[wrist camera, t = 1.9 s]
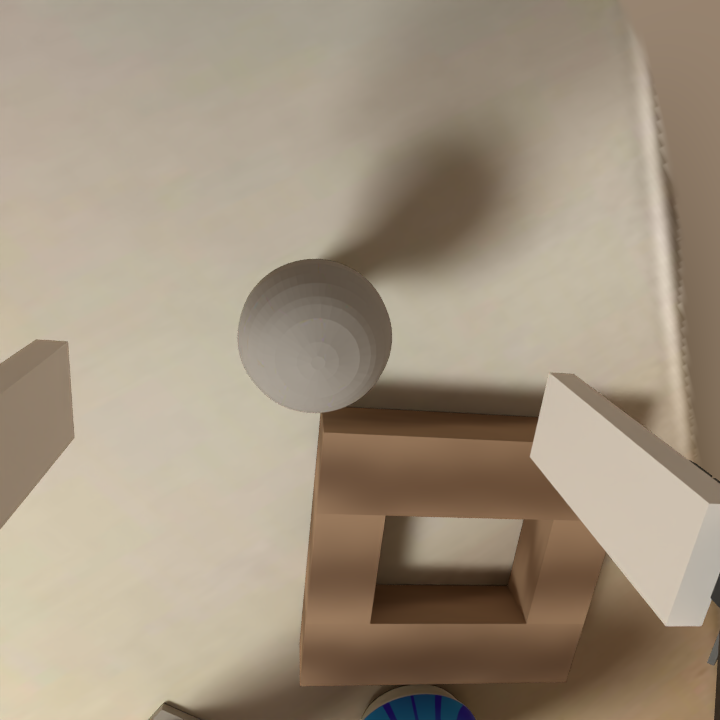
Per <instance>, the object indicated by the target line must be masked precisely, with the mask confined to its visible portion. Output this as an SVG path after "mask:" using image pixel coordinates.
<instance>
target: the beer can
mask: <svg viewBox="0 0 720 720" xmlns="http://www.w3.org/2000/svg"><path fill="white" fill-rule="evenodd" d="M362 720H475V718H474V716H473V714H472V712H471V711H470V710H469V709H468V708H467V707H466V706H465V705H464V704H463V703H461V702H460V701H458V700H456V699H455V698H454V696H452V695H451V694H450V693H449V692H447V691H446V690H444V689H442V688H439V687H436V686H432V685H425V684H413V685H406V686H402V687H398V688H395V689H393V690H390V691H388V692H386V693H384V694H383V695H381V696H380V697H378V698H377V699H376V700H375V701H373V702H372V704H371V705H370V706H369V707H368V708H367V710H366V711H365V713H364V715H363V717H362Z"/></svg>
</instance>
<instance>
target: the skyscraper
mask: <svg viewBox="0 0 720 720" xmlns="http://www.w3.org/2000/svg"><path fill="white" fill-rule="evenodd" d="M149 720H200V719H198V718H196V717H193V716H191V715H189V714H187V713H184V712H182V711H180V710H178V709H175V708H173V707H171V706H169V705H166V704H164V703H163V704H162V705H161V706H160V708H159V709H158V710H157V711H156V712H155V713H154V714H153V715H152V716H151V718H150V719H149Z"/></svg>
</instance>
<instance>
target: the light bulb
mask: <svg viewBox="0 0 720 720" xmlns="http://www.w3.org/2000/svg"><path fill="white" fill-rule="evenodd" d="M391 345H392V328H391V322H390V318H389V315H388V312H387V310H386V307H385V305H384V303H383V301H382V299H381V297H380V295H379V294H378V292H377V291H376V289H375V288H374V287H373V285H372V284H371V283H370V282H369V281H368V280H367V279H366V278H365V277H363V276H362V275H361V274H360V273H358V272H357V271H355V270H354V269H352V268H350V267H348V266H346V265H343V264H341V263H337V262H334V261H329V260H323V259H306V260H300V261H295V262H292V263H288V264H286V265H283V266H281V267H279V268H277V269H275V270H274V271H272V272H271V273H269V274H268V275H266V276H265V277H264V278H263V279H262V280H261V281H260V282H259V283H258V284H257V285H256V286H255V287H254V289H253V290H252V291H251V293H250V295H249V296H248V298H247V300H246V302H245V304H244V307H243V310H242V313H241V317H240V321H239V326H238V349H239V354H240V358H241V361H242V363H243V366H244V368H245V370H246V372H247V374H248V375H249V377H250V378H251V380H252V381H253V382H254V383H255V385H256V386H257V387H258V388H259V389H260V390H261V391H262V392H263V393H264V394H265V395H266V396H268V397H269V398H270V399H272V400H273V401H275V402H276V403H278V404H280V405H282V406H284V407H286V408H289V409H292V410H296V411H300V412H307V413H323V412H330V411H334V410H337V409H341V408H343V407H346V406H348V405H350V404H352V403H354V402H355V401H357V400H358V399H360V398H361V397H362V396H364V395H365V394H366V393H367V392H368V391H369V390H370V389H371V388H372V387H373V386H374V385H375V383H376V382H377V380H378V379H379V377H380V375H381V374H382V372H383V370H384V368H385V366H386V364H387V361H388V358H389V355H390V351H391Z"/></svg>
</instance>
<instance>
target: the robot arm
mask: <svg viewBox="0 0 720 720" xmlns="http://www.w3.org/2000/svg"><path fill="white" fill-rule="evenodd" d="M73 439H74V424H73V409H72V394H71V379H70V364H69V349H68V342H67V341H52V340H35V341H33V342H32V343H30V344H29V345H27V346H26V347H24V348H23V349H21V350H20V351H18V352H17V353H15V354H14V355H12V356H11V357H10V358H8V359H7V360H5V361H4V362H2V363H1V364H0V529H1V528H2V527H3V525H4V524H5V523H6V522H7V520H8V519H9V518H10V517H11V515H12V514H13V513H14V512H15V511H16V509H17V508H18V507H19V506H20V504H21V503H22V502H23V501H24V499H25V498H26V497H27V496H28V494H29V493H30V492H31V491H32V490H33V488H34V487H35V486H36V485H37V483H38V482H39V481H40V480H41V478H42V477H43V476H44V475H45V474H46V472H47V471H48V470H49V469H50V467H51V466H52V465H53V464H54V462H55V461H56V460H57V459H58V457H59V456H60V455H61V454H62V453H63V451H64V450H65V449H66V448H67V446H68V445H69V444H70V443H71V441H72V440H73ZM530 458H531V459H532V460H533V461H534V463H535V464H536V465H537V466H538V468H539V469H540V470H541V471H542V473H543V474H544V475H545V476H546V478H547V479H548V480H549V481H550V483H551V484H552V485H553V486H554V488H555V489H556V490H557V491H558V493H559V494H560V495H561V496H562V498H563V499H564V500H565V501H566V503H567V504H568V505H569V506H570V508H571V509H572V510H573V511H574V513H575V514H576V515H577V516H578V518H579V519H580V520H581V521H582V523H583V524H584V525H585V526H586V528H587V529H588V530H589V531H590V533H591V534H592V535H593V536H594V538H595V539H596V540H597V541H598V542H599V544H600V545H601V546H602V547H603V549H604V550H605V551H606V552H607V554H608V555H609V556H610V557H611V559H612V560H613V561H614V562H615V564H616V565H617V566H618V567H619V569H620V570H621V571H622V572H623V574H624V575H625V576H626V577H627V579H628V580H629V581H630V582H631V584H632V585H633V586H634V587H635V589H636V590H637V591H638V592H639V594H640V595H641V596H642V597H643V599H644V600H645V601H646V602H647V604H648V605H649V606H650V607H651V609H652V610H653V611H654V612H655V614H656V615H657V616H658V617H659V619H660V620H661V621H662V622H663V624H664V625H665V626H702V624H703V621H704V618H705V616H706V613H707V610H708V608H709V605H710V603H711V600H713V601H714V602H715V603H716V604H717V605H718V607H719V608H720V481H718V480H717V479H716V478H712V475H710V474H709V473H708V472H706V471H705V470H704V469H702V468H701V467H700V466H698V465H697V464H696V463H694V462H692V461H690V460H688V459H686V458H685V457H684V456H682V455H681V454H680V453H678V452H677V451H676V450H674V449H673V448H672V447H670V446H669V445H668V444H666V443H665V442H664V441H662V440H661V439H660V438H658V437H657V436H656V435H654V434H653V433H652V432H650V431H649V430H648V429H646V428H645V427H644V426H642V425H641V424H640V423H638V422H637V421H636V420H634V419H633V418H632V417H630V416H629V415H628V414H626V413H625V412H624V411H622V410H621V409H620V408H618V407H617V406H616V405H614V404H613V403H612V402H610V401H609V400H608V399H606V398H605V397H604V396H602V395H601V394H600V393H598V392H597V391H596V390H594V389H593V388H592V387H590V386H589V385H588V384H586V383H585V382H584V381H582V380H581V379H580V378H578V377H577V376H576V375H574V374H566V373H551V372H549V375H548V379H547V383H546V388H545V392H544V397H543V401H542V405H541V410H540V414H539V419H538V423H537V427H536V432H535V436H534V441H533V445H532V449H531V454H530ZM717 660H718V665H717V682H716V699H715V716H714V720H720V631H719V634H718V636H717V639H716V642H715V644H714V647H713V649H712V652H711V654H710V657H709V659H708V662H707V663H709V664H711V665H713V666H714V665H715V663H716V661H717Z"/></svg>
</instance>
